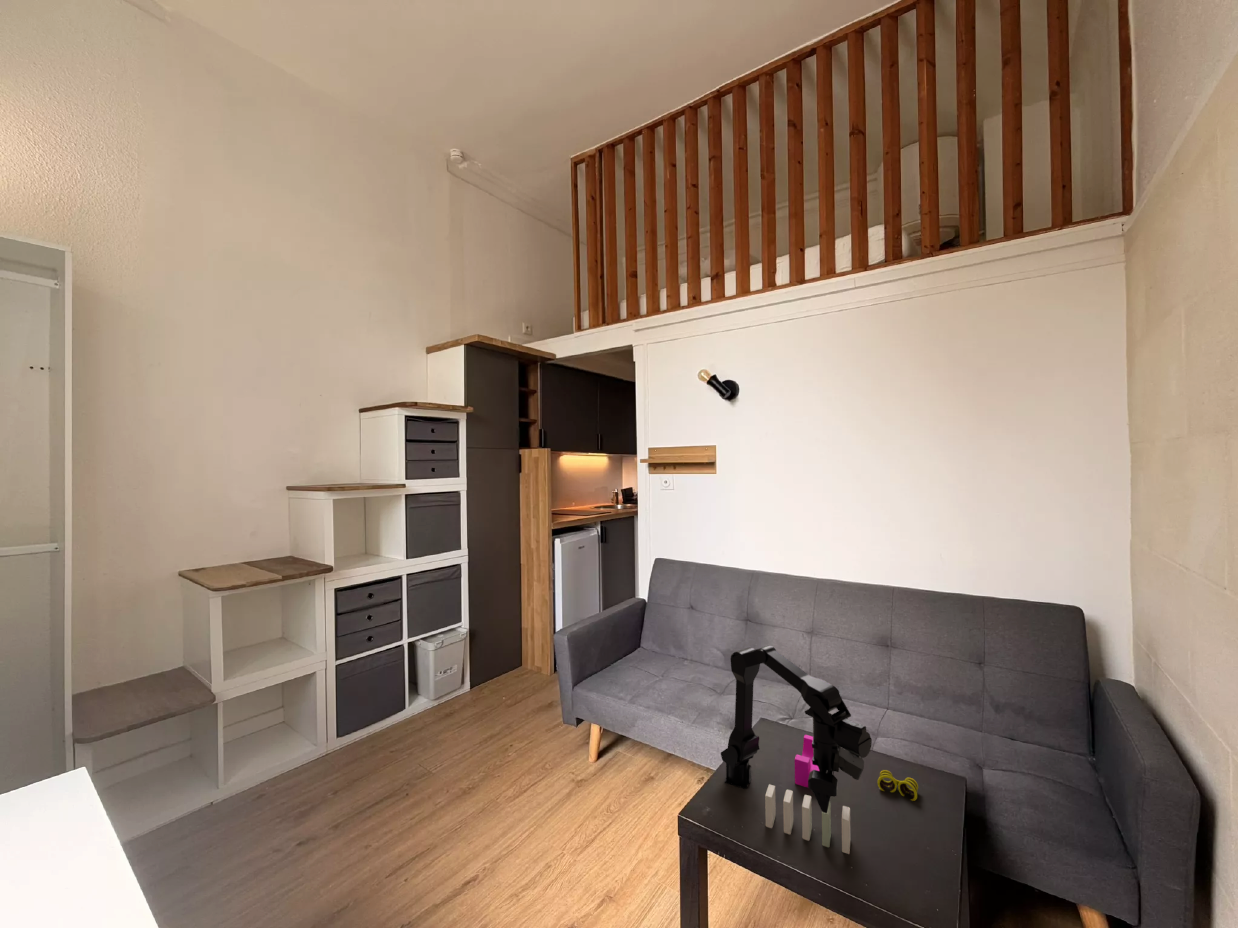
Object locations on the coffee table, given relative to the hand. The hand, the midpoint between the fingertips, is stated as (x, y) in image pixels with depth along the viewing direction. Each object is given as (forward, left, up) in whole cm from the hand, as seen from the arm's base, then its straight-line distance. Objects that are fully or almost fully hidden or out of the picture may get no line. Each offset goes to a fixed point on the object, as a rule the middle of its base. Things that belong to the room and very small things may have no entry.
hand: (826, 800), depth 121 cm
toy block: (-7, +26, -10) cm, 29 cm away
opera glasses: (+16, +28, -10) cm, 34 cm away
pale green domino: (0, 0, -10) cm, 10 cm away
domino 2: (-9, 0, -10) cm, 13 cm away
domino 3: (-5, 0, -10) cm, 11 cm away
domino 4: (+4, 0, -10) cm, 11 cm away
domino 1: (-14, 0, -10) cm, 17 cm away
